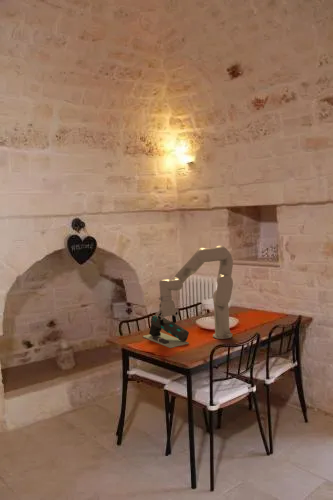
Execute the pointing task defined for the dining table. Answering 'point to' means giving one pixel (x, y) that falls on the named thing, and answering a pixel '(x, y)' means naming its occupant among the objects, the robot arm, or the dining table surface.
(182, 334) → the gun
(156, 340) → the bound lead
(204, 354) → the dining table surface
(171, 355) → the dining table surface
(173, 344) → the mat
